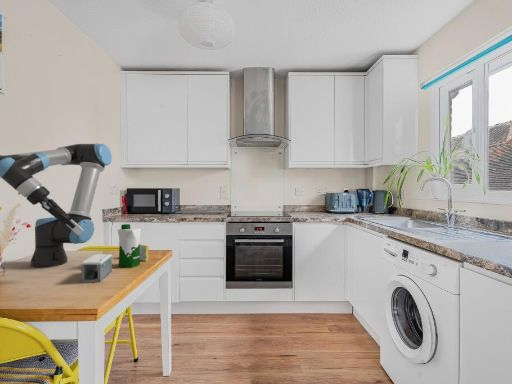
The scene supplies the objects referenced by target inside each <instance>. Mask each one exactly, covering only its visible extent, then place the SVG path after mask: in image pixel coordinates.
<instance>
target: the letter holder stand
mask: <svg viewBox="0 0 512 384" xmlns="http://www.w3.org/2000/svg"><path fill="white" fill-rule="evenodd" d="M112 261H113V255H112V256H111V257H110V258H109V259H107V260H106V261H105V262H103V263H102V264H82V263H81V266H80V267H81V269H80V270H81V273H80V274H81V277H80V279H81V284H84V283H85V284H86V283H87V284H88V283H101V282H102V281H103V280H104V279H105V278H106V277H108V276H109V275H110V274H111V273H112V269H113V267H112V266H113V262H112Z"/></svg>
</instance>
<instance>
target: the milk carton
mask: <svg viewBox="0 0 512 384" xmlns="http://www.w3.org/2000/svg"><path fill="white" fill-rule="evenodd" d="M141 232H142V228H137V227H131V224H127V223H124V224H123V223H122V224H121V225H120V228H119V229H117V233H118V238H119V239H118V241H119V242H118V243H119V244H118V248H119V249H118V250H119V252H118V268H128V269H129V268H131V269H132V268H134V267H137V266H139V265H141V261H140V243H141Z"/></svg>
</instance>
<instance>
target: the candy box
mask: <svg viewBox="0 0 512 384" xmlns="http://www.w3.org/2000/svg"><path fill="white" fill-rule="evenodd" d="M149 249H150V245H148V244H140V262H144V263H146V262H149Z"/></svg>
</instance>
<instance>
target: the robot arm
mask: <svg viewBox="0 0 512 384" xmlns="http://www.w3.org/2000/svg"><path fill="white" fill-rule="evenodd" d="M112 159H113V158H112V153H111V149H110V148H109V147H108V146H107V145H106V144H104V143H99V142H96V143H76V144H71V145H67V146H58V147H57V148H55V149H51V150H43V151H42V150H41V151H33V152H31V151H30V152H26V153H24V152H23V153H15V154H7V155H1V154H0V179H2V180H3V181H5V182H6V183H7V184H8V185H9V186H11V187H12V188H13V189H14V190H15V191H17V195H19V196H20V195H21V196H22V197H24V198H26V200H27V201H28V202H29V203H30V204H31V205H33V206H34V205H37V204H39V205H41V208H42V209H43V210H45V211H46V212H48V213H49V214H50V215H51V217H43V218H38V219H36V220H35V225H34V244H35V247H34V248H35V249H34V252H33V254H32V256H31V260H30V267H33V268H47V267H55V266H59V265H63V264H66V263H67V262H68V256H67V254H66V250H65V246H64V244H73V245H76V244H85V243H87V242H88V241H90V239H92V236H94V232H95V225H94V222H93V221H92V217H91V216H90V213H91V209H92V204H93V201H94V197H95V194H96V189H97V186H98V181H99V177H100V173H102V172H104V171H105V168H106V166H109V165H111V163H112ZM57 165H60V166H69V165H70V166H80V167H81V171H80V175H79V177H78V182H77V185H76V189H75V192H74V194H73V195H74V197H73V199H72V203H71V207H70V210H69V212H66V210H64V209H63V208H61V206H60V205H59V204H58V203H57V202H55V200H54V199H52V198H49V197H48V196H49V195H50V194H51V192H50V190H48V189H47V188H46V187H45V186H42V183H41V182H40V181H38V180H37V179H36V178H35V177H34V175H36V174H39V173H40V172H44V171H45V170H46V169H47V168H49V167H51V166H57ZM52 216H53V217H52Z"/></svg>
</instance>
